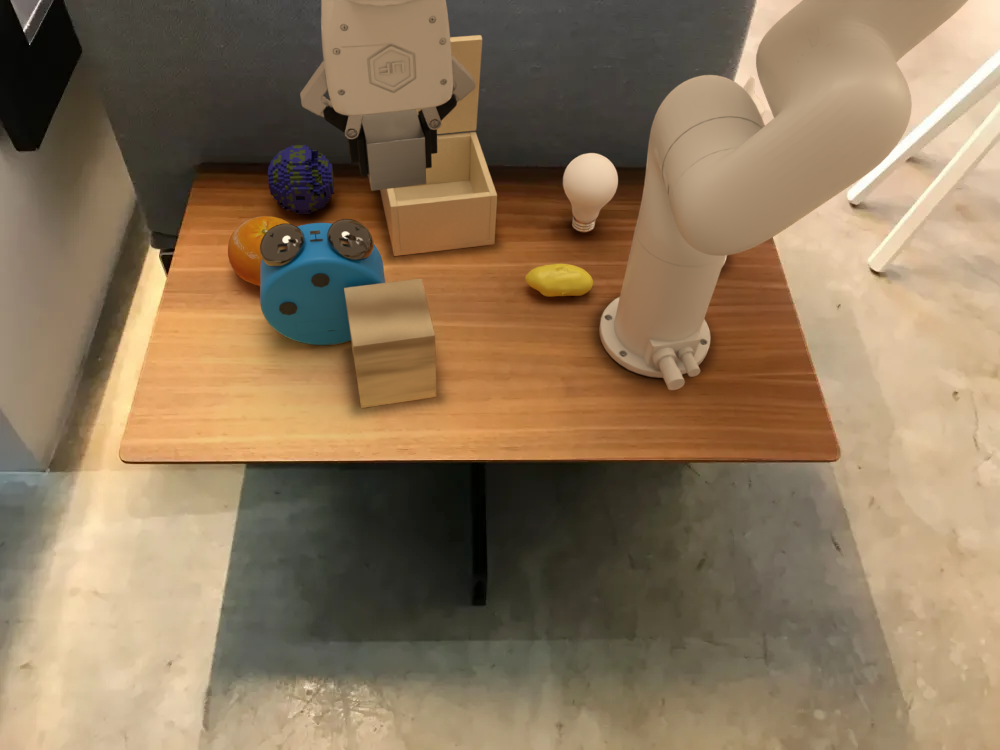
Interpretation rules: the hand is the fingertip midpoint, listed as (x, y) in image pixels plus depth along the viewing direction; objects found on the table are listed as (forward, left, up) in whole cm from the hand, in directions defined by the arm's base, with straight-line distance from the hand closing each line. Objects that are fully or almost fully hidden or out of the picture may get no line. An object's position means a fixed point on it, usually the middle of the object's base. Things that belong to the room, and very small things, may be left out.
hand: (393, 161), depth 77 cm
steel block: (0, 0, -1) cm, 1 cm away
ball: (+25, +9, -24) cm, 36 cm away
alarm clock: (+3, +8, -24) cm, 26 cm away
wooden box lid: (+25, -7, -9) cm, 27 cm away
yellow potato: (+4, -19, -24) cm, 31 cm away
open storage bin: (+20, -7, -24) cm, 32 cm away
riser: (-5, +2, -24) cm, 25 cm away
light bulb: (+14, -25, -24) cm, 38 cm away
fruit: (+13, +14, -24) cm, 31 cm away
